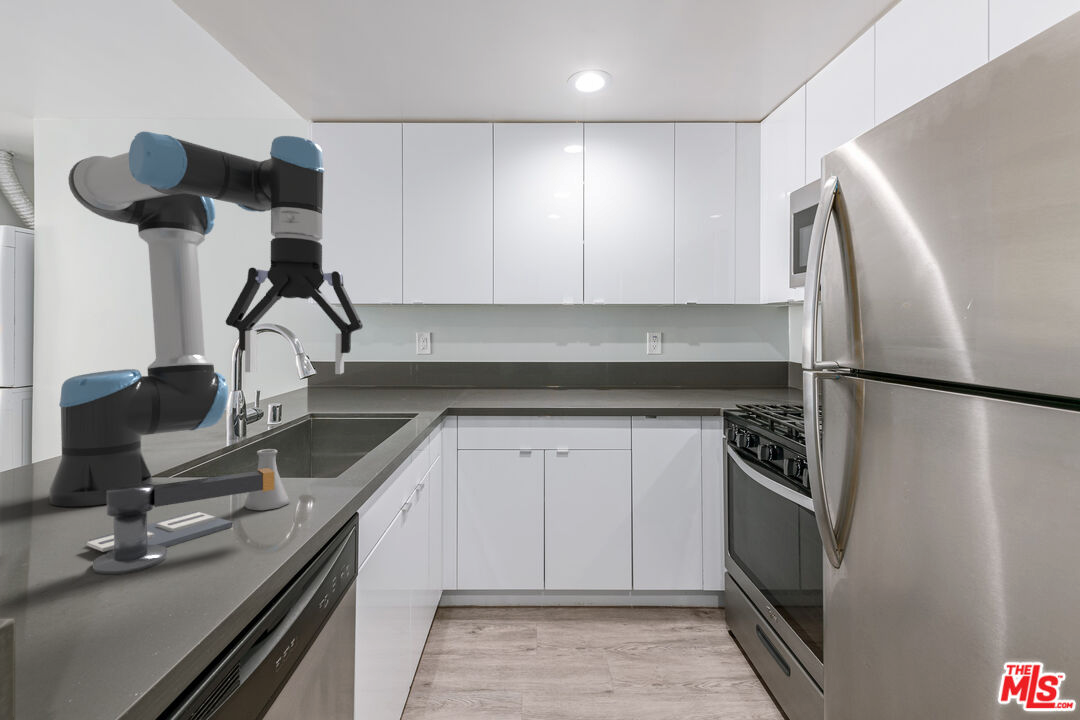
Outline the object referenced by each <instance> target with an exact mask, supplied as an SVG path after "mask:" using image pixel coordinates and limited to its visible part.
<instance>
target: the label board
mask: <svg viewBox="0 0 1080 720" xmlns="http://www.w3.org/2000/svg"><path fill="white" fill-rule="evenodd" d="M232 527H233V521H231V520H228V519H224V518H221V517H217V516H214V515H210V514H207V513H205V512H198V511H192V512H189V513H185V514H182V515H181V514H180V515H178V516H174V517H170V518H167V519H166V518H165V519H162V520H158V521H156V522H155V521H154V522H151V523H147V538H148V547H150V546H153V545H160V546H164V547H166V548H169V547H171V546H174V545H178V544H180V543H184V542H188V541H191V540H194V539H198V538H200V537H204V536H207V535H210V534H214V533H216V532H221V531H223V530H227V529H229V528H232ZM86 546H87V547H89V548H92V549H95V550H97V551H99V552H102V553H103V552H104V553H105V552H106V553H109V552H111V551H114V532H113V533H110V534H105V535H101V536H98V537H94V538H90V539H89V540H88V541H87V542H86Z"/></svg>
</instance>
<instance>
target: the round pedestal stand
mask: <svg viewBox="0 0 1080 720" xmlns="http://www.w3.org/2000/svg"><path fill="white" fill-rule="evenodd" d="M147 524H148V512H145V513H141V514H137V515H131V516H122V517H113V533H114V551H111V552H109V553H108V552H106V553H104V554H102V555H100V556H98V557H97V558H95V559H94V560H93V562H92V571H93V572H94V573H95V574H98V575H105V576H106V575H108V576H109V575H111V576H113V575H123V574H129V573H130V574H131V573H134V572H139V571H143V570H145V569H149V568H151V567H154V566H156V565H159V564H160V563H162V562H164V561H165V560H166V559H167V558H168V549H167V548H168V547H164V546H160V545H153V546H150V547H148V538H147Z"/></svg>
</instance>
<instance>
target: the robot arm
mask: <svg viewBox="0 0 1080 720" xmlns="http://www.w3.org/2000/svg"><path fill="white" fill-rule="evenodd" d="M269 155H270V158H268V159H265V160H261V161H259V160H256V159H255V160H254V159H251V158H247V157H244V156H239V155H237V154H233V153H229V152H226V151H222V150H217V149H215V148H212V147H211V148H210V147H207V146H204V145H200V144H196V143H193V142H189V141H187V140H183V139H179V138H175V137H173V136H171V135H169V134H160V133H155V132H150V131H140V132H138V133H136V135H135V136H134V139H132V141H131V143H130V146H129V150H128V152H126V153H122V154H118V155H115V156H112V157H111V156H110V157H109V156H104V155H93V156H92V155H91V156H90V157H89V156H88V157H86V158H84V159H82V160H79V161H77V162H76V163H75V164H73V166H72V168H71V169H70V171H69V173H68V185H69V189H70V192H71V193H72V195H73V197H74V198H75V199H76V201H77V202H78V203H79V204H80V205H82V206H83V207H85V208H86V209H88V211H90V212H92V213H93V214H96V215H97V216H100V217H102V218H105V219H107V220H111V221H114V222H119V223H124V224H129V225H130V224H131V225H135V226H137V229H138V238H140V239H141V240H142V241H144V242H145V243H146V244H147V245H148V258H149V259H148V260H149V272H150V273H149V274H150V288H151V289H150V290H151V292H150V293H151V305H152V318H153V319H152V320H153V334H154V335H153V337H154V350H155V359H154V361H152V363H150V364H149V365H148V366H147V367H146V368H147V369H146V370H147V375H146V376H145V375H142V373H141V371H140V370H138V369H134V368H131V369H127V368H126V369H118V370H106V371H98V372H92V373H91V372H89V373H86V374H81V375H80V374H79V375H75V376H72V377H70V378H68V379H66V380H65V381H64V382H63V383H62V385H61V391H60V400H59V404H58V405H59V407H60V430H61V433H60V434H61V440H60V441H61V460H60V462H59V465H58V468H57V470H56V473H55V476H54V477H53V480H52V483H51V485H50V487H49V504H51V505H52V506H58V507H71V508H72V507H90V506H100V505H107V490H109V489H111V488H114V487H117V486H122V485H128V484H140V483H145V484H152V485H153V477H152V474H151V472H150V469H149V466H148V464H147V462H146V460H145V457H144V456H143V452H142V436H148V435H156V434H166V433H167V434H168V433H173V432H174V433H175V432H183V431H184V432H185V431H196V430H198V429H205V428H210V427H213V426H215V425H216V424H217V423H219V421H221V419H222V417H223V415H224V413H225V411H226V408H227V405H228V399H229V398H228V397H229V389H228V383H227V381H226V378H225V376H224V375H223V374H221V373H218V372H215V365H214V363H213V362H211V360H209V359H208V358H207V356H206V354H205V339H204V326H203V311H202V295H201V282H200V281H201V280H200V268H199V267H200V266H199V265H200V264H199V255H198V253H199V252H198V247H199V246H200V245H201V244H202V243H203V242H205V240H206V237H205V236H206V235H208V234H210V233H211V232H212V230H213V229H214V225H215V222H214V220H215V219H216V209H215V207H216V206H215V203H214V200H218V201H220V202H221V201H222V202H226V203H232V204H235V205H236V206H238V207H240V208H241V209H242V210H245V211H247V212H259V213H263V212H268V211H270V234H271V235H272V236H273V237H274V238H272V240H270V268H269V270H263V269H259V268H257V267H249V268H248V270H247V271H248V272H247V279H246V283H245V284H244V286H243V288H242V289H241V292H240V294H239V295H238V297H237V299H236V300H235V303H234V305H233V307H232V308H231V310H230V312H229V314H228V315H227V318H226V320H225V324H226V326H228V327H233V328H235V329H236V330H238V348H239V351H243V352H244V351H245V352H244V355H245V356H244V358H245V359H244V373H254V372H257V370H258V367H257V366H258V343H257V342H258V331H257V330H253V327H255V325H256V324H258V322H259V321H260V320H261V319H262V318H263V317H264V315H266V313H268V311H269V310H270V309H271V308H272V307H273V306H274V305H275V304H276V303H277V302H279V300H281V299H282V298H286V299H297V298H298V299H304V300H309V299H313V301H315V302H316V304H317V305H318V306H319V307H320V309H322V310H323V312H324V313H325V314H326V315H327V317H328V318H329V319H330V320H331V321H332V323H333V324H334V326H336V328H338V330H340V332H339V333H336V332H335V363H334V366H335V367H334V370H335V373H334V374H335V375H342V374H344V373H345V354H350V352H351V350H352V349H351V346H352V345H351V342H352V337H351V336H352V333H353V332H356V331H359V330H362V329H363V326H364V325H363V323H362V320H361V319H360V316H359V315H358V313H357V311H356V309H355V306H354V304H353V303H352V300H351V299H350V296H349V294H348V292H347V290H346V288H345V287H344V285H345V284H344V276H343V274H342V273H341V272H340V271H335V270H334V271H332V272H326V273H325V272H324V271H323V245H322V243H321V242H320V241H321V240H322V239H323V202H324V200H323V199H324V173H325V169H324V165H323V164H324V163H323V158H324V157H323V150H322V148H321V146H320V145H319V144H318V143H316V142H314V141H313V140H310V139H307V138H303V137H299V136H294V135H293V136H292V135H281V136H277V137H274V139H273V140H272V141H271V148H270V152H269ZM266 279H268V280H269V282H270V283H271V284H272V286H271V287H269V289H268V290H267V292H266V293H265V295H264V296H263V297H262V298H261V300H259V301H258V302H257V303H256V305H255V306H254V307H253V308H252V309H251V310H250V311H249V312H248V314H247V311H248V310H249V307H250V305H251V304H252V302H253V300H254V298H255V296H256V295H257V293H258V291H259V289H260V287H261V285H262V284H263V283H265V281H266ZM325 281H326V282H327V284H328V285H329V286H332V287H333V290H334V293H335V294H336V296H337V299H338V301H339V303H340V305H341V307H342V309H343V310H344V313H345V315H346V316H347V319H348V321H349V323H348V322H347V321H346V320H345V319H344V317H343V316H342V315H341V314H340V313H339V311H337V309H336V308H335V307H334V306H333V305H332V303H331V302H330V300H328V298H327V297H326V295H325V294H324V293H323V291H321V290H320V288H321V286H322V285H323V284H324V283H325Z"/></svg>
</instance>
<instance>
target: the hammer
mask: <svg viewBox="0 0 1080 720" xmlns="http://www.w3.org/2000/svg"><path fill="white" fill-rule="evenodd" d="M257 469H258V468H257ZM259 490H262V491H270V490H274V471H273V470H271V469H269V468H265V469H258V471H248V472H247V471H246V472H242V473H232V474H226V475H220V476H212V477H203V478H198V479H189V480H182V481H175V482H166V483H161V484H153V483H152V484H145V483H140V484H128V485H122V486H117V487H114V488H111V489H109V490H107V504H106V516H109V517H113V518H114V517H122V516H131V515H137V514H141V513H145V512H147V513H148V512H150V511H151V510H153V509H154V508H157V507H163V506H170V505H176V504H182V503H188V502H189V503H190V502H194V501H202V500H208V499H214V498H220V497H227V496H234V495H239V494H247V493H249V492H253V491H259Z"/></svg>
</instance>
